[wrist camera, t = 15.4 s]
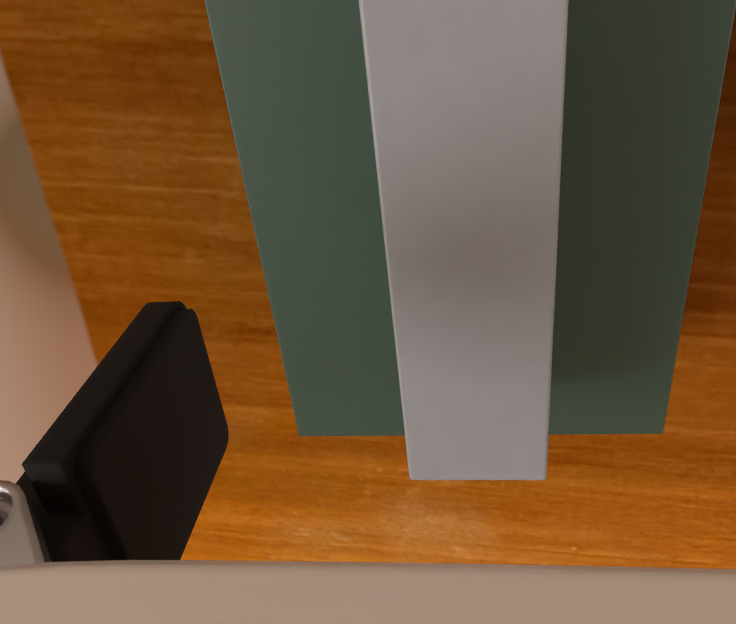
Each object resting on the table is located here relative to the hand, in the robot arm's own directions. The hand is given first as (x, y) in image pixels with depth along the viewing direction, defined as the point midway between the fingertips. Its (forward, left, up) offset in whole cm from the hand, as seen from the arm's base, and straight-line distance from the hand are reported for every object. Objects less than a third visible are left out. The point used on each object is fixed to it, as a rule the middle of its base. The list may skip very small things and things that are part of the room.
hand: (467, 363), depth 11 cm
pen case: (0, 0, -8) cm, 8 cm away
